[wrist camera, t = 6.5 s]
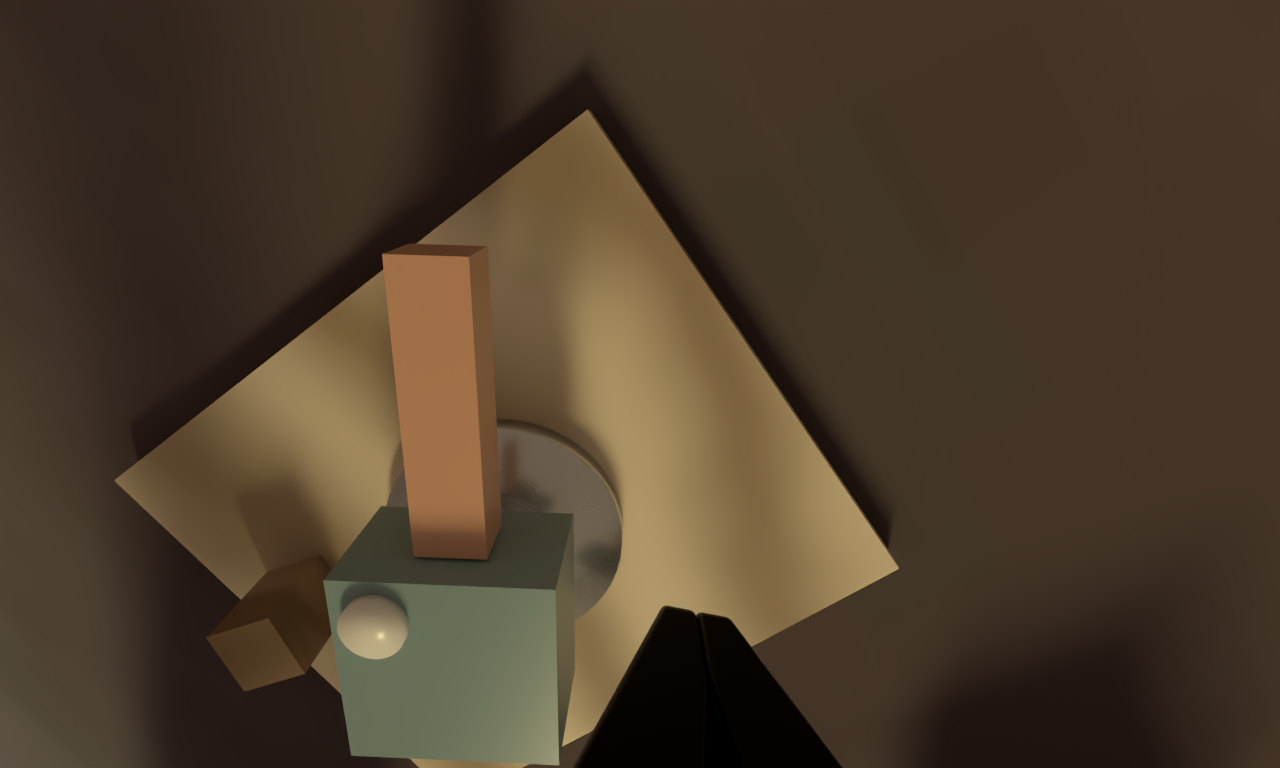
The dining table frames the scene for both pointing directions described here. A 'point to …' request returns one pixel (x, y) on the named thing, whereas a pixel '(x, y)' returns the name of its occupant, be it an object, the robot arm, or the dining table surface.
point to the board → (544, 425)
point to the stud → (558, 499)
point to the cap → (452, 553)
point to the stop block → (276, 625)
